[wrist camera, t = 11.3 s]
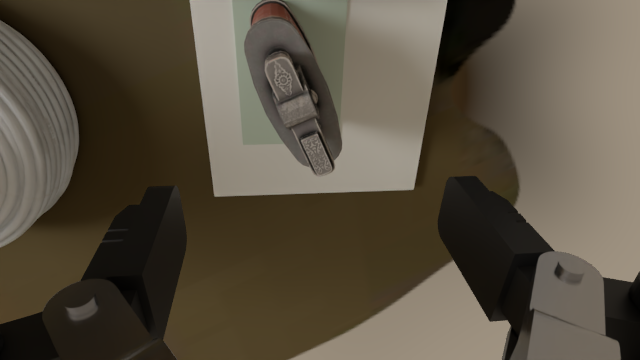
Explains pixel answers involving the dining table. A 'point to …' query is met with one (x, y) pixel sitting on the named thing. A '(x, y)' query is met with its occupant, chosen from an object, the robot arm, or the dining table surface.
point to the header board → (344, 85)
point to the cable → (32, 135)
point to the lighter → (292, 86)
